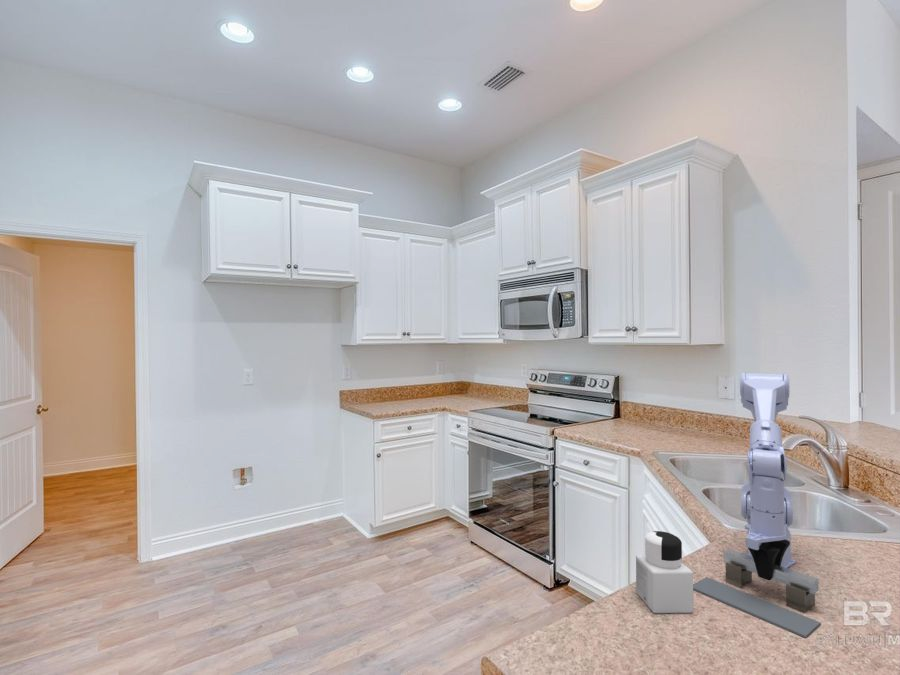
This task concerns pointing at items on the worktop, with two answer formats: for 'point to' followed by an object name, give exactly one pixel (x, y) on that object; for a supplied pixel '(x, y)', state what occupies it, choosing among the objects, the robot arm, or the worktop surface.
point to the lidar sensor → (664, 575)
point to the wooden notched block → (737, 575)
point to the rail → (774, 571)
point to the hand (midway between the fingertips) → (768, 576)
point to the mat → (757, 607)
